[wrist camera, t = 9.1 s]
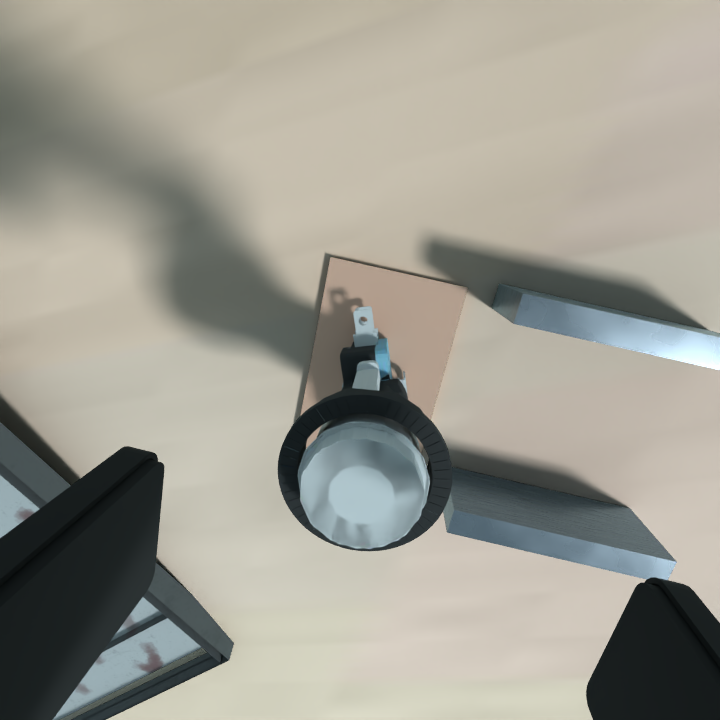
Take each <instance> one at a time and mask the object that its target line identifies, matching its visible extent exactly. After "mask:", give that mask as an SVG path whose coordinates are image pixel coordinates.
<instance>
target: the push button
mask: <svg viewBox="0 0 720 720" xmlns="http://www.w3.org/2000/svg"><path fill="white" fill-rule="evenodd" d="M353 314H354V322H355V329H356V331H355V335H353V338H354V342H353V343H352V345H351V347H345V348H343V349H342V351H341V353H340V363H341V370H342V376H343V386H342V390H341V391H339V392H337V393H335V394H332V395H330V396H328V397H325V398H323V399H322V400H321V401H320V402H318V403H316V404H315V405H313V406H311V407H310V408H309V409H308V410H306V411H305V412H304V413H303V414H302V415H301V416H300V417H299V418H298V419H297V420H296V422H295V423H294V424H293V426H292V427H291V429H290V431H289V432H288V434H287V436H286V438H285V440H284V442H283V445H282V448H281V451H280V455H279V460H278V479H279V485H280V488H281V492H282V495H283V497H284V500H285V502H286V504H287V505H288V507H289V509H290V510H291V512H292V513H293V515H294V516H295V517H296V518H297V520H298V521H299V522H300V523H301V524H302V525H303V526H304V527H305V528H306V529H308V530H309V531H310V532H312V533H313V534H314V535H316V536H317V537H319V538H321V539H323V540H325V541H326V542H329V543H331V544H333V545H336V546H339V547H342V548H346V549H351V550H358V551H380V550H387V549H391V548H395V547H398V546H401V545H404V544H406V543H408V542H410V541H412V540H414V539H416V538H417V537H419V536H420V535H422V534H423V533H424V532H426V531H427V530H428V529H429V528H430V527H431V526H432V525H433V524H434V523H435V522H436V521H437V519H438V518H439V516H440V515H441V514H442V512H443V510H444V508H445V506H446V504H447V502H448V499H449V496H450V492H451V487H452V466H451V461H450V456H449V452H448V449H447V446H446V444H445V441H444V439H443V437H442V435H441V433H440V432H439V430H438V429H437V427H436V426H435V425H434V424H433V422H432V421H431V420H430V419H429V418H428V417H427V416H426V415H425V414H424V413H423V412H422V410H421V409H420V408H419V407H418V406H416V405H415V404H413V403H412V402H410V401H409V400H408V396H407V386H406V377H405V371H403V376H404V379H402V380H399V378H397V379H392V371H391V363H390V355H389V347H388V340H387V338H384V339H379V335H378V328H374V321H373V313H372V307H370V306H366V307H358V308H356V309H355V311H354V313H353ZM363 316H364V317H366V318H367V320H368V321H365V322H364V321H362V320H361V318H360V317H363ZM320 426H321V428H320V430H319V433H318V435H317V438H316V439H315V440H314V441H313V442H312V443H311V444H310V445H309V446H308V447H307V449H306V443H307V439H308V438H309V437H310V435H311V434H312V433H313V432H314V431H315V430H317V429H318V428H319V427H320ZM417 438H418V439H419V441H420V442H421V443H422V445H423V446H424V448H425V450H426V452H427V454H428V456H429V461H428V466H427V467H426V464H425V460H424V458H423V456H422V454H421V453H420V447H419V442H418V440H417Z"/></svg>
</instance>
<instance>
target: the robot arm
mask: <svg viewBox="0 0 720 720" xmlns="http://www.w3.org/2000/svg"><path fill="white" fill-rule="evenodd" d="M163 478H164V464H163V463H161V462H158V458H157V455H156V454H155V453H153V452H149V451H145V450H141V449H137V448H133V447H129V446H127V447H123V448H121V449H120V450H118V451H117V452H116V453H114V454H113V455H112V456H110V457H109V458H108V459H106V460H105V461H104V462H102V463H101V464H100V465H98V466H97V467H96V468H94V469H93V470H92V471H90V472H89V473H87V474H86V475H85V476H83V477H82V478H81V479H79V480H78V481H77V482H75V483H74V484H73V485H71V486H70V487H69V488H67V489H66V490H65V491H63V492H62V493H60V494H59V495H58V496H56V497H55V498H54V499H52V500H51V501H50V502H48V503H47V504H46V505H44V506H43V507H42V508H40V509H39V510H38V511H36V512H35V513H33V514H32V515H31V516H29V517H28V518H27V519H25V520H24V521H23V522H21V523H20V524H19V525H17V526H16V527H15V528H13V529H12V530H11V531H9V532H8V533H7V534H5V535H4V536H2V537H1V538H0V720H53V719H54V717H55V716H56V715H57V713H58V712H59V711H60V709H61V708H62V706H63V705H64V704H65V702H66V701H67V700H68V698H69V697H70V696H71V694H72V693H73V691H74V690H75V689H76V687H77V686H78V685H79V683H80V682H81V681H82V679H83V678H84V676H85V675H86V674H87V672H88V671H89V670H90V668H91V667H92V666H93V664H94V663H95V661H96V660H97V659H98V657H99V656H100V655H101V653H102V652H103V650H104V649H105V648H106V646H107V645H108V644H109V642H110V641H111V640H112V638H113V637H114V635H115V634H116V633H117V631H118V630H119V629H120V627H121V626H122V625H123V623H124V622H125V620H126V619H127V618H128V616H129V615H130V614H131V612H132V611H133V610H134V608H135V607H136V605H137V604H138V603H139V601H140V600H141V599H142V597H143V596H144V595H145V593H146V592H147V590H148V589H149V587H150V585H151V582H152V580H153V577H154V573H155V565H156V555H157V544H158V533H159V522H160V511H161V500H162V489H163ZM586 697H587V704H588V707H589V710H590V713H591V715H592V718H593V720H720V623H719V622H718V620H717V619H716V618H715V617H714V616H713V614H712V613H711V612H710V611H709V609H708V608H707V607H706V606H705V604H704V603H703V602H702V601H701V600H700V598H699V597H698V596H697V595H696V593H695V592H694V591H693V590H692V589H691V588H690V587H689V586H686V585H684V584H680V583H676V582H672V581H668V580H664V579H660V578H656V577H650V578H649V579H647V580H646V581H645V583H640V584H638V585H637V586H636V588H635V589H634V591H633V593H632V596H631V598H630V600H629V602H628V604H627V606H626V608H625V610H624V612H623V614H622V616H621V618H620V620H619V622H618V624H617V626H616V628H615V630H614V632H613V634H612V636H611V638H610V640H609V642H608V644H607V646H606V648H605V650H604V652H603V654H602V656H601V658H600V660H599V662H598V664H597V666H596V668H595V670H594V672H593V674H592V676H591V678H590V680H589V682H588V685H587V691H586Z"/></svg>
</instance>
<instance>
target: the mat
mask: <svg viewBox="0 0 720 720" xmlns="http://www.w3.org/2000/svg"><path fill="white" fill-rule="evenodd" d="M467 290H468V288H467V287H463V286H459V285H455V284H450V283H446V282H441V281H437V280H432V279H428V278H423V277H419V276H414V275H410V274H405V273H401V272H397V271H392V270H388V269H383V268H379V267H374V266H370V265H365V264H361V263H356V262H352V261H347V260H343V259H339V258H334V257H330V262H329V267H328V273H327V278H326V283H325V288H324V294H323V299H322V304H321V310H320V315H319V320H318V325H317V331H316V336H315V341H314V346H313V352H312V357H311V362H310V368H309V373H308V378H307V383H306V389H305V394H304V399H303V404H302V410H301V415H302V414H303V413H304V412H305V411H306V410H308V409H309V408H310V407H311V406H313V405H315V404H316V403H318V402H320V401H321V400H322V399H323V398H325V397H328V396H330V395H332V394H335V393H337V392H339V391H341V390H342V386H343V376H342V370H341V363H340V353H341V351H342V349H343V348H345V347H351V345H352V343H353V342H354V338H353V335H355V331H356V329H355V322H354V314H353V313H354V311H355V309H356V308H358V307H366V306H370V307H372V313H373V321H374V328H378V335H379V339H384V338H387V340H388V347H389V355H390V363H391V371H392V379H397V378H399V380H402V379H404V376H403V371H405V377H406V386H407V396H408V400H409V401H410V402H412V403H413V404H415V405H416V406H418V407H419V408H420V409H421V410H422V412H423V413H424V414H425V415H426V416H427V417H428V418H429V419H430V420H431V417H432V414H433V410H434V407H435V403H436V400H437V396H438V393H439V389H440V386H441V382H442V378H443V375H444V371H445V368H446V364H447V361H448V357H449V354H450V350H451V347H452V343H453V339H454V336H455V332H456V329H457V325H458V322H459V318H460V315H461V311H462V308H463V304H464V300H465V297H466V293H467ZM360 318H361V320H362V321H364V322H365V321H368V320H367V318H366V317H364V316H363V317H360ZM301 415H300V416H301ZM320 428H321V426H320V427H319V428H318V429H317V430H315V431H314V432H313V433H312V434H311V435H310V437H309V438H308V439H307V443H306V448H307V447H308V446H309V445H310V444H311V443H312V442H313V441H314V440H315V439H316V438H317V435H318V433H319V430H320ZM417 440H418V442H419V447H420V453H422V449H423V445H422V443H421V442H420V441H419V439H418V438H417Z"/></svg>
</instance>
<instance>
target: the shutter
mask: <svg viewBox="0 0 720 720" xmlns="http://www.w3.org/2000/svg"><path fill="white" fill-rule="evenodd" d="M70 486H71V485H70V484H68V483H67V482H66V481H65V480H64V479H63V478H62V477H61V476H60V475H58V474H57V473H56V472H55V471H54V470H53V469H52V468H51V467H50V466H48V465H47V464H46V463H45V462H44V461H43V460H42V459H41V458H40V457H38V456H37V455H36V454H35V453H34V452H33V451H32V450H31V449H30V448H28V447H27V446H26V445H25V444H24V443H23V442H22V441H21V440H20V439H18V438H17V437H16V436H15V435H14V434H13V433H12V432H11V431H10V430H8V429H7V428H6V427H5V426H4V425H3V424H2V423H1V422H0V538H1V537H2V536H4V535H5V534H7V533H8V532H9V531H11V530H12V529H13V528H15V527H16V526H17V525H19V524H20V523H21V522H23V521H24V520H25V519H27V518H28V517H29V516H31V515H32V514H33V513H35V512H36V511H38V510H39V509H40V508H42V507H43V506H44V505H46V504H47V503H48V502H50V501H51V500H52V499H54V498H55V497H56V496H58V495H59V494H60V493H62V492H63V491H65V490H66V489H67V488H69V487H70ZM233 645H234V643H233V642H232V640H231V639H230V638H229V637H228V636H227V635H226V633H225V632H224V631H223V630H222V629H221V628H220V626H219V625H218V624H217V623H216V622H215V621H214V619H213V618H212V617H211V616H210V615H209V614H208V612H207V611H206V610H205V609H204V608H203V607H202V606H201V604H200V603H199V602H198V601H197V600H196V599H195V597H194V596H193V595H192V594H191V593H189V592H188V591H187V590H186V589H185V588H184V587H183V586H182V585H181V584H179V583H178V582H177V581H176V580H175V579H174V578H173V577H172V576H171V575H169V574H168V573H167V572H166V571H165V570H164V569H163V568H162V567H161V566H159V565H158V564H157V563H156V565H155V573H154V577H153V580H152V582H151V585H150V587H149V589H148V590H147V592H146V593H145V595H144V596H143V597H142V599H141V600H140V601H139V603H138V604H137V605H136V607H135V608H134V610H133V611H132V612H131V614H130V615H129V616H128V618H127V619H126V620H125V622H124V623H123V625H122V626H121V627H120V629H119V630H118V631H117V633H116V634H115V635H114V637H113V638H112V640H111V641H110V642H109V644H108V645H107V646H106V648H105V649H104V650H103V652H102V653H101V655H100V656H99V657H98V659H97V660H96V661H95V663H94V664H93V666H92V667H91V668H90V670H89V671H88V672H87V674H86V675H85V676H84V678H83V679H82V681H81V682H80V683H79V685H78V686H77V687H76V689H75V690H74V691H73V693H72V694H71V696H70V697H69V698H68V700H67V701H66V702H65V704H64V705H63V706H62V708H61V709H60V711H59V712H58V713H57V715H56V716H55V717H54V719H53V720H59V719H61V718H63V717H65V716H67V715H69V714H71V713H73V712H75V711H77V710H79V709H81V708H83V707H85V706H87V705H89V704H91V703H93V702H95V701H97V700H99V699H101V698H103V697H105V696H107V695H109V694H111V693H113V692H115V691H117V690H119V689H121V688H123V687H125V686H127V685H129V684H131V683H133V682H135V681H137V680H139V679H141V678H143V677H145V676H147V675H149V674H151V673H153V672H154V671H156V670H158V669H160V668H162V667H164V666H166V665H168V664H170V663H172V662H174V661H176V660H178V659H180V658H182V657H184V656H186V655H188V654H190V653H192V652H194V651H196V650H198V649H200V648H203V649H204V650H206V651H207V652H208V653H206V654H204V655H202V656H200V657H197V658H195V659H193V660H191V661H189V662H187V663H185V664H183V665H181V666H179V667H177V668H175V669H173V670H171V671H169V672H167V673H165V674H163V675H161V676H159V677H157V678H155V679H153V680H151V681H149V682H147V683H145V684H143V685H141V686H138V687H136V688H134V689H132V690H130V691H128V692H126V693H124V694H122V695H120V696H118V697H116V698H114V699H112V700H110V701H108V702H106V703H104V704H102V705H100V706H98V707H96V708H94V709H92V710H90V711H88V712H86V713H84V714H81V715H79V716H77V717H75V718H73V719H71V720H106V719H108V718H110V717H112V716H114V715H116V714H118V713H121V712H123V711H125V710H127V709H129V708H131V707H133V706H135V705H137V704H139V703H141V702H143V701H145V700H148V699H150V698H152V697H154V696H156V695H158V694H160V693H162V692H164V691H166V690H168V689H170V688H173V687H175V686H177V685H179V684H181V683H183V682H185V681H187V680H189V679H191V678H193V677H195V676H197V675H200V674H202V673H204V672H206V671H208V670H210V669H212V668H214V667H216V666H218V665H220V664H222V663H225V662H227V661H229V659H230V655H231V652H232V648H233Z"/></svg>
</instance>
